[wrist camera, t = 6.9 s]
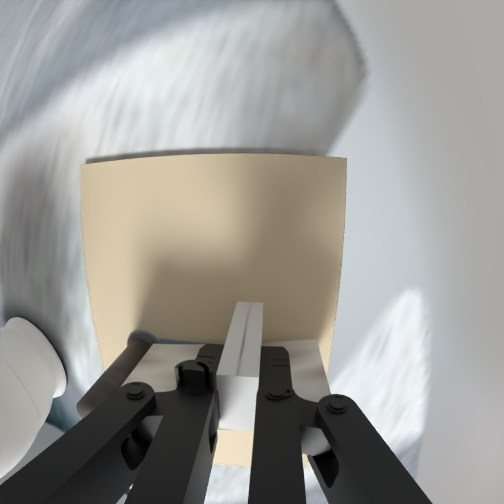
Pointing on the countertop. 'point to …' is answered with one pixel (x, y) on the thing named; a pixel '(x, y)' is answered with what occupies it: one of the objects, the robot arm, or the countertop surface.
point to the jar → (25, 387)
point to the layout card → (213, 252)
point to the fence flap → (169, 355)
